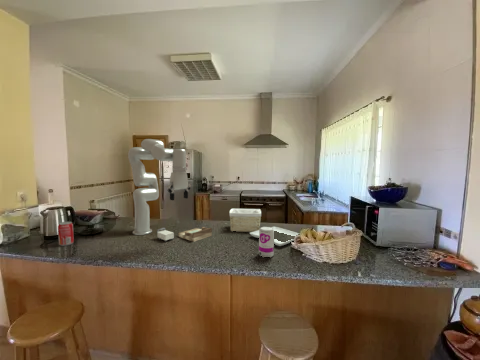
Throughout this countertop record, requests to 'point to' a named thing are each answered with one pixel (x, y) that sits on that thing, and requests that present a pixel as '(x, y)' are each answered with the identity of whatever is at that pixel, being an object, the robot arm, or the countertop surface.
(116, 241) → the countertop surface
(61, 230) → the soda can
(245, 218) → the storage basket
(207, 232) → the dock
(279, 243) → the square plate
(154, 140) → the robot arm
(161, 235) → the cream rod-topped slab
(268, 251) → the supplement can
